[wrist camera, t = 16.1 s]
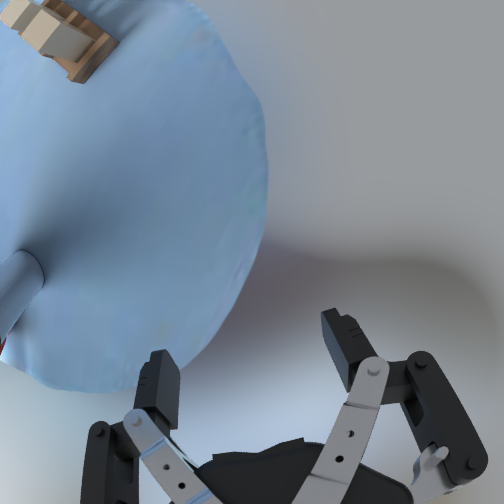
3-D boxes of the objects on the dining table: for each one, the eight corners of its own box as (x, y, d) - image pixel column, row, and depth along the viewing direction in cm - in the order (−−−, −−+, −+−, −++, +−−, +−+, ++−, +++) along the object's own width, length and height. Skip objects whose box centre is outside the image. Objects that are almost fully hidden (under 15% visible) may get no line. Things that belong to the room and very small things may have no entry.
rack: (83, 83, 29) (71, 81, 26) (30, 37, 22) (17, 33, 19) (119, 43, 28) (110, 36, 24) (61, 0, 21) (50, -7, 17)
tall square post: (53, 42, 24) (10, 28, 13) (40, 31, 22) (-3, 17, 11) (70, 22, 23) (30, 2, 12) (56, 12, 21) (17, -8, 10)
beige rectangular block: (81, 64, 27) (38, 51, 16) (64, 50, 25) (20, 36, 14) (99, 43, 26) (60, 22, 15) (81, 30, 24) (41, 9, 13)
